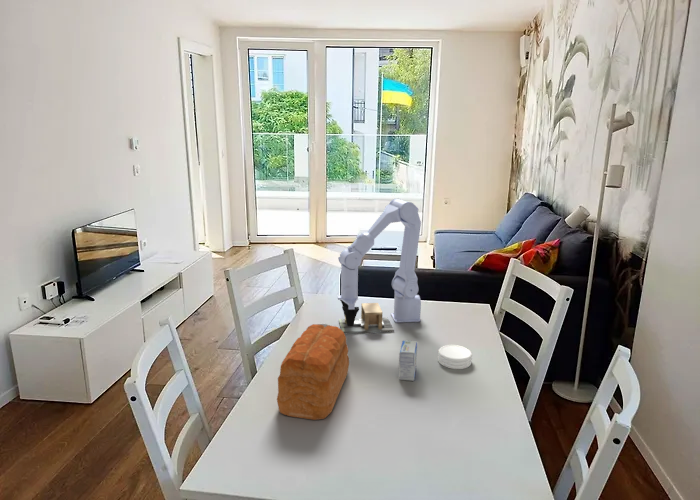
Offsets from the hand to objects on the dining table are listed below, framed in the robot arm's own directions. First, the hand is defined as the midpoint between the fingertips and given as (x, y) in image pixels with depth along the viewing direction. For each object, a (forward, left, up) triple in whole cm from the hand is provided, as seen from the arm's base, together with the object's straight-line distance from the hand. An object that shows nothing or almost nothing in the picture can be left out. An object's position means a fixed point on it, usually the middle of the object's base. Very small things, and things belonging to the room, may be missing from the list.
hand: (348, 321), depth 169 cm
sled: (-5, 0, -1) cm, 5 cm away
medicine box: (-13, +34, -2) cm, 36 cm away
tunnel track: (-6, 0, -2) cm, 6 cm away
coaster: (-29, +28, -3) cm, 40 cm away
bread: (+14, +40, -3) cm, 43 cm away
